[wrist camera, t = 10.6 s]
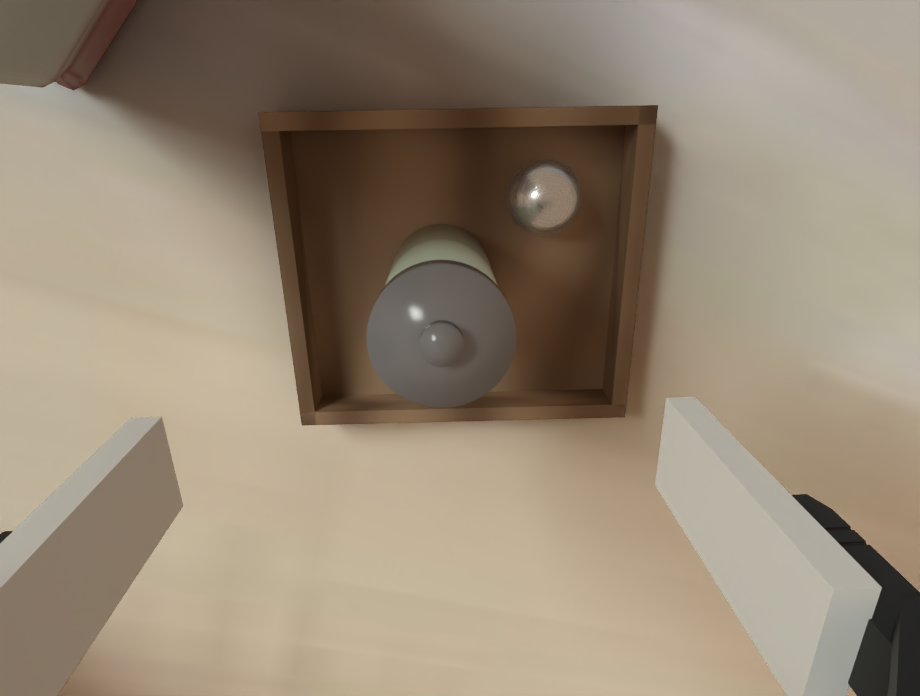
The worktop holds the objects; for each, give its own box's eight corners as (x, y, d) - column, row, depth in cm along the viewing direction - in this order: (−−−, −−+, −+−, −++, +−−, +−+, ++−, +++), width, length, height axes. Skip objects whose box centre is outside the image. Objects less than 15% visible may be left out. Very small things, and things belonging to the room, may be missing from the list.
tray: (311, 404, 33) (301, 425, 31) (274, 113, 27) (258, 112, 25) (612, 396, 34) (625, 417, 31) (640, 106, 28) (657, 105, 25)
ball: (502, 229, 29) (509, 243, 26) (503, 156, 28) (511, 161, 25) (571, 228, 29) (586, 241, 26) (575, 155, 28) (592, 159, 25)
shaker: (392, 322, 31) (370, 417, 21) (386, 222, 29) (358, 273, 19) (492, 320, 31) (516, 412, 21) (492, 219, 29) (520, 269, 19)
